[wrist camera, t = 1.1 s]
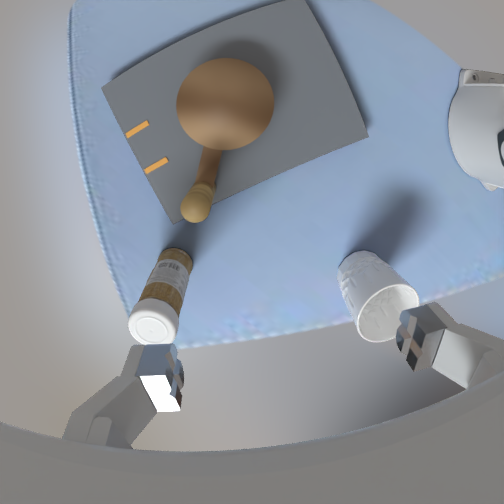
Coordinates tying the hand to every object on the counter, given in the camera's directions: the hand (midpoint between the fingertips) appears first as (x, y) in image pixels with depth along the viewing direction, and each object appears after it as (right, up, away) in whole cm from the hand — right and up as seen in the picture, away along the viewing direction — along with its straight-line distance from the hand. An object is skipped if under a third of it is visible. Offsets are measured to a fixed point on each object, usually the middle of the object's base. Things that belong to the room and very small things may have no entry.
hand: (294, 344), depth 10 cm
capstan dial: (-5, +15, +19) cm, 25 cm away
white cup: (+13, 0, +29) cm, 32 cm away
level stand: (-3, +19, +20) cm, 28 cm away
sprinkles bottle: (-11, +2, +27) cm, 29 cm away
